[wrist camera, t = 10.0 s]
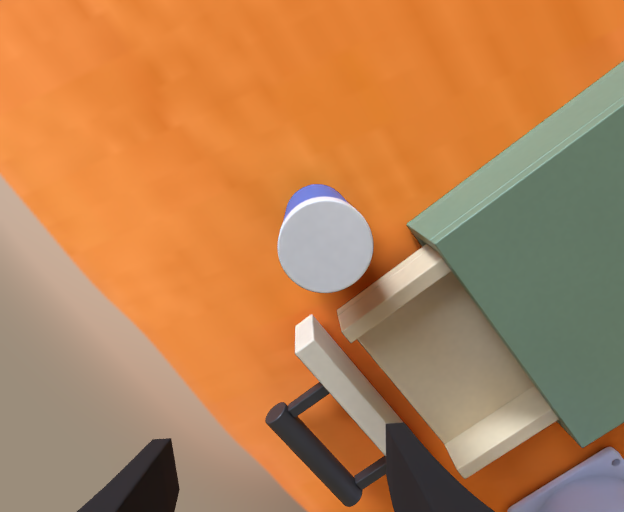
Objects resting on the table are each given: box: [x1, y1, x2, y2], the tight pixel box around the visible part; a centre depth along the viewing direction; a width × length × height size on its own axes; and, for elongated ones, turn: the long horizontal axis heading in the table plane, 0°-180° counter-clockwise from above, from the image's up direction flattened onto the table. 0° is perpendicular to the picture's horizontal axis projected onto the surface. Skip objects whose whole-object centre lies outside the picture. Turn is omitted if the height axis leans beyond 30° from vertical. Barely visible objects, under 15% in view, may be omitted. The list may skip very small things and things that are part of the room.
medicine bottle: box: [278, 184, 373, 293], centre depth 19 cm, size 4×4×8 cm
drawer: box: [265, 244, 559, 507], centre depth 22 cm, size 18×12×3 cm
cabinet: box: [407, 61, 624, 448], centre depth 21 cm, size 14×13×5 cm
